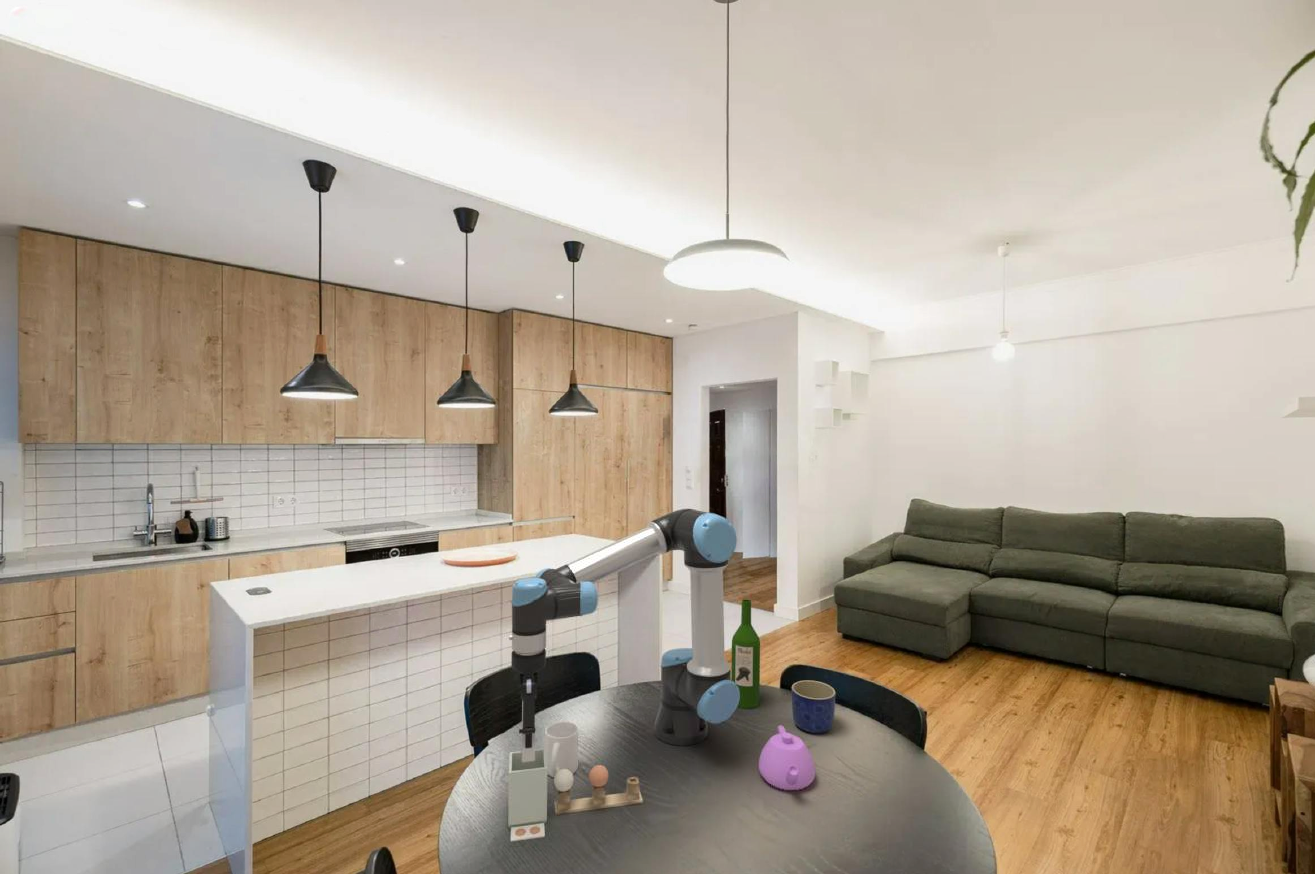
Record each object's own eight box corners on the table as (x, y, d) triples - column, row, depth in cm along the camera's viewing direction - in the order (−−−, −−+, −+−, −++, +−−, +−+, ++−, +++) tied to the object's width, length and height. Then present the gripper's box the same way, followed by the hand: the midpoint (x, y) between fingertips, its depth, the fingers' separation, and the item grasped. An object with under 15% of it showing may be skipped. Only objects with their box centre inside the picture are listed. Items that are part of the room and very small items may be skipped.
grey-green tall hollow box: (545, 799, 135) (545, 748, 135) (546, 822, 127) (547, 768, 127) (509, 804, 134) (509, 752, 133) (508, 828, 126) (508, 772, 125)
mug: (568, 790, 139) (569, 747, 139) (535, 787, 140) (535, 744, 140) (581, 761, 151) (581, 722, 151) (550, 759, 152) (551, 720, 152)
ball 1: (572, 782, 135) (572, 763, 135) (574, 794, 131) (574, 774, 131) (553, 785, 134) (553, 766, 134) (554, 796, 130) (554, 777, 130)
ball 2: (606, 778, 137) (607, 759, 137) (609, 789, 132) (609, 770, 132) (588, 780, 136) (588, 762, 136) (590, 792, 131) (590, 773, 131)
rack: (639, 793, 138) (639, 774, 138) (642, 802, 135) (642, 783, 135) (554, 804, 134) (554, 785, 134) (555, 814, 130) (555, 795, 130)
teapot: (764, 803, 135) (765, 758, 135) (754, 755, 155) (754, 715, 155) (824, 806, 134) (825, 760, 134) (806, 757, 154) (807, 717, 154)
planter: (800, 711, 179) (801, 676, 179) (840, 724, 172) (841, 687, 172) (784, 728, 169) (784, 691, 169) (826, 742, 162) (826, 703, 162)
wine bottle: (730, 707, 181) (731, 603, 181) (731, 694, 190) (732, 595, 190) (759, 710, 180) (760, 605, 179) (759, 697, 189) (760, 597, 188)
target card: (544, 824, 127) (544, 822, 127) (544, 836, 123) (544, 834, 123) (511, 828, 125) (511, 827, 125) (510, 841, 121) (510, 839, 121)
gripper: (512, 631, 141) (512, 718, 142) (510, 673, 117) (509, 778, 117) (544, 629, 143) (543, 715, 143) (548, 670, 119) (547, 773, 119)
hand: (528, 743), depth 130 cm, fingers open, 13 cm apart
